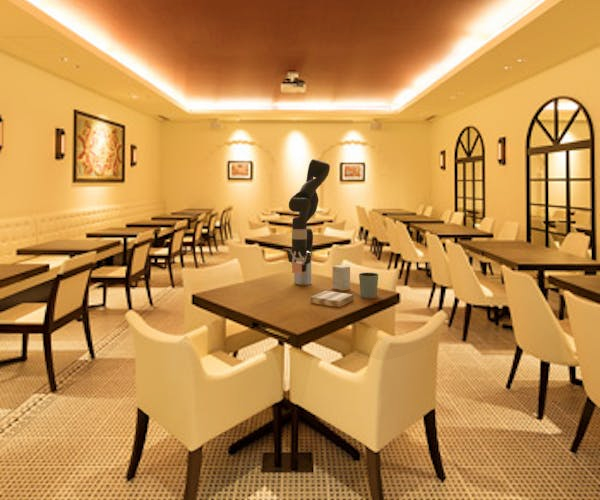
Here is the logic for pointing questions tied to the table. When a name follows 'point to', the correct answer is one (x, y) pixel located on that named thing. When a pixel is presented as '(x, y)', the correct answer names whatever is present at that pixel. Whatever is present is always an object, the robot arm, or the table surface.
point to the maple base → (332, 298)
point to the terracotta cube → (297, 267)
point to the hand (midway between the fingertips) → (299, 271)
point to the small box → (341, 277)
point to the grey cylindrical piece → (368, 285)
